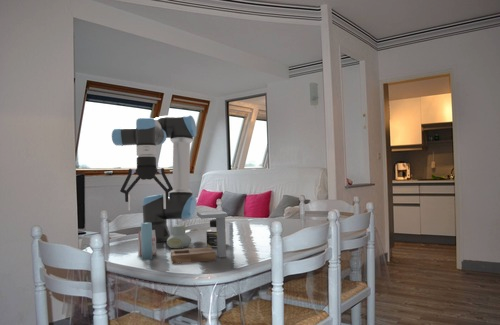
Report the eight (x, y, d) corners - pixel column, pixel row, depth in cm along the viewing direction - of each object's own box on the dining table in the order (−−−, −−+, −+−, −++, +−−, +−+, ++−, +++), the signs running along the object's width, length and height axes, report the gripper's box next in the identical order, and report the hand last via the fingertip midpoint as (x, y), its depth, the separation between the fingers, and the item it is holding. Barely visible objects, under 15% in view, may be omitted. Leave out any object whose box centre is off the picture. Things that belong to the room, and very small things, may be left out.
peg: (142, 258, 158) (141, 222, 158) (152, 257, 159) (151, 222, 159) (142, 260, 154) (141, 224, 154) (152, 259, 155) (151, 223, 155)
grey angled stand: (198, 254, 161) (196, 211, 161) (222, 252, 163) (220, 210, 164) (202, 261, 147) (201, 214, 148) (228, 259, 150) (227, 213, 150)
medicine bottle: (206, 246, 179) (205, 220, 179) (213, 243, 185) (213, 218, 186) (220, 247, 176) (219, 220, 176) (227, 244, 183) (226, 218, 183)
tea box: (138, 254, 165) (137, 230, 166) (154, 252, 168) (154, 229, 169) (139, 256, 162) (139, 231, 162) (156, 254, 165) (155, 230, 165)
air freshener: (163, 249, 176) (163, 226, 176) (172, 245, 184) (172, 224, 184) (186, 249, 173) (185, 226, 173) (194, 246, 181) (193, 224, 181)
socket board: (170, 257, 157) (170, 250, 157) (210, 254, 161) (210, 246, 161) (172, 263, 145) (172, 255, 145) (215, 260, 149) (215, 252, 149)
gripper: (112, 156, 152) (113, 211, 151) (178, 155, 158) (179, 208, 157) (114, 157, 159) (115, 210, 158) (177, 156, 165) (178, 207, 164)
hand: (147, 209), depth 157 cm, fingers open, 13 cm apart
